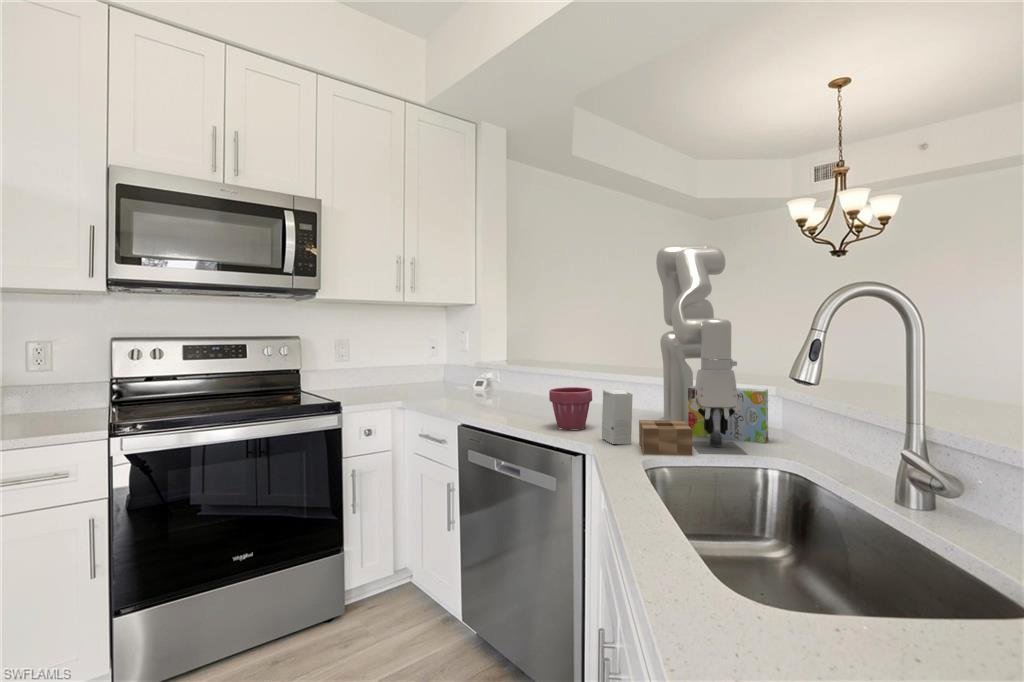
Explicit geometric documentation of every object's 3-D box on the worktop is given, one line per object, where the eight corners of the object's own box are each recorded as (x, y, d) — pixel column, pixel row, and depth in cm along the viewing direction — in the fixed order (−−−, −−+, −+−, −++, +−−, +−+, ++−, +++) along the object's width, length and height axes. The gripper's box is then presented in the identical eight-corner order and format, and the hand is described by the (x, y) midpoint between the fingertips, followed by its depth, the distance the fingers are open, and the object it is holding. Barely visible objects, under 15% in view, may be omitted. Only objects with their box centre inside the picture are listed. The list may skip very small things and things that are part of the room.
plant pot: (541, 426, 166) (540, 389, 165) (573, 422, 174) (572, 385, 173) (568, 434, 154) (568, 393, 154) (601, 428, 162) (601, 389, 161)
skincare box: (601, 439, 146) (600, 389, 146) (620, 438, 148) (619, 388, 147) (613, 445, 138) (613, 393, 138) (633, 444, 139) (633, 392, 139)
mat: (688, 442, 141) (688, 441, 141) (732, 443, 139) (732, 441, 139) (698, 455, 127) (698, 453, 127) (748, 456, 125) (748, 454, 125)
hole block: (639, 444, 139) (639, 419, 139) (683, 445, 137) (683, 420, 137) (643, 455, 127) (643, 428, 127) (692, 456, 125) (692, 429, 125)
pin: (708, 442, 135) (708, 406, 135) (720, 442, 135) (720, 406, 134) (711, 445, 132) (711, 408, 132) (723, 445, 132) (723, 408, 131)
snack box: (768, 441, 141) (768, 388, 141) (766, 445, 136) (765, 391, 136) (692, 433, 153) (691, 384, 152) (687, 436, 148) (687, 386, 148)
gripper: (744, 363, 135) (743, 430, 136) (681, 364, 137) (681, 429, 138) (752, 366, 127) (752, 437, 128) (686, 366, 130) (686, 435, 131)
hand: (715, 432), depth 133 cm, fingers closed on pin, 3 cm apart
